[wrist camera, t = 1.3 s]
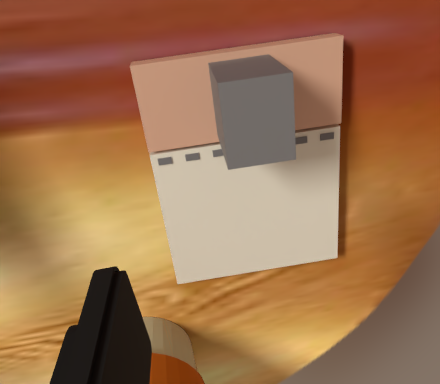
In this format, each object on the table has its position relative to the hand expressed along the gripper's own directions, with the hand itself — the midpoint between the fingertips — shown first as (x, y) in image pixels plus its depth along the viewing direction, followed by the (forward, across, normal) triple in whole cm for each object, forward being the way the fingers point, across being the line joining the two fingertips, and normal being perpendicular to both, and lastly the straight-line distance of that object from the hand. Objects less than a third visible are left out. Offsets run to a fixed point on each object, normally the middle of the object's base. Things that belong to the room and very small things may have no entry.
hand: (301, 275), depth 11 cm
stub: (+20, -1, 0) cm, 20 cm away
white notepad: (+20, 0, +10) cm, 23 cm away
